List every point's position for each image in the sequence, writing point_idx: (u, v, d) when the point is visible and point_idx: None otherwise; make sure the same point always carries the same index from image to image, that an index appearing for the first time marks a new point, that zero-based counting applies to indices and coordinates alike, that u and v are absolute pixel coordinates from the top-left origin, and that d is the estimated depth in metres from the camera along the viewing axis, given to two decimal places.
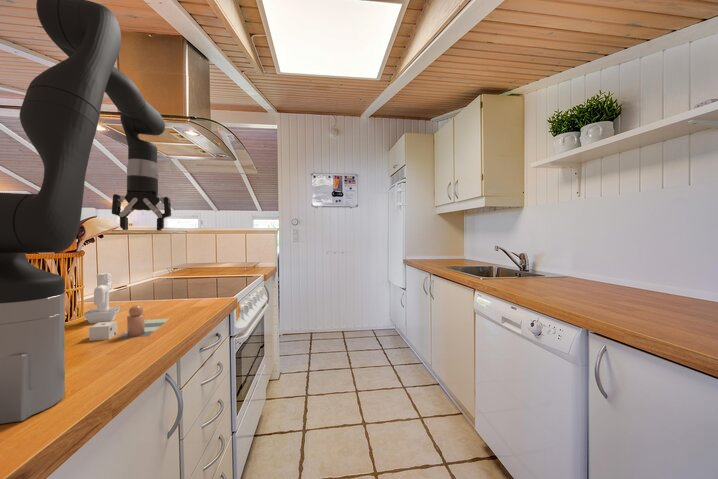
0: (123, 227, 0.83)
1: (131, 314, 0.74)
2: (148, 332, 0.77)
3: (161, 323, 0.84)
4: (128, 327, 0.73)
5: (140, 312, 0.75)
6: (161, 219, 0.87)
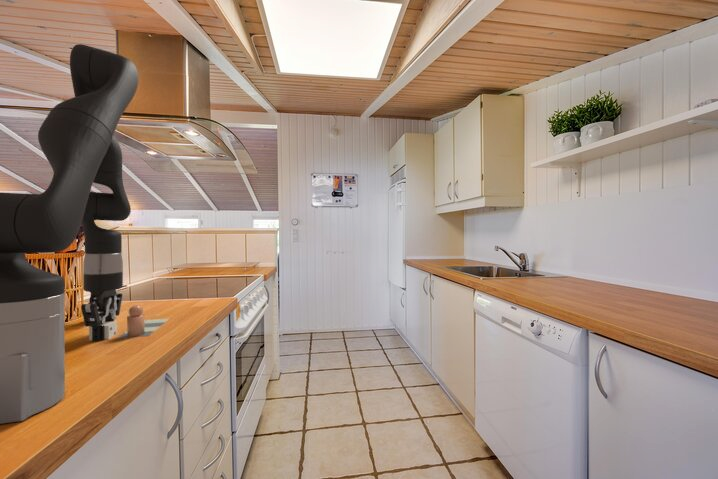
0: (103, 337, 0.71)
1: (131, 314, 0.74)
2: (148, 332, 0.77)
3: (161, 323, 0.84)
4: (128, 327, 0.73)
5: (140, 312, 0.75)
6: (113, 320, 0.76)
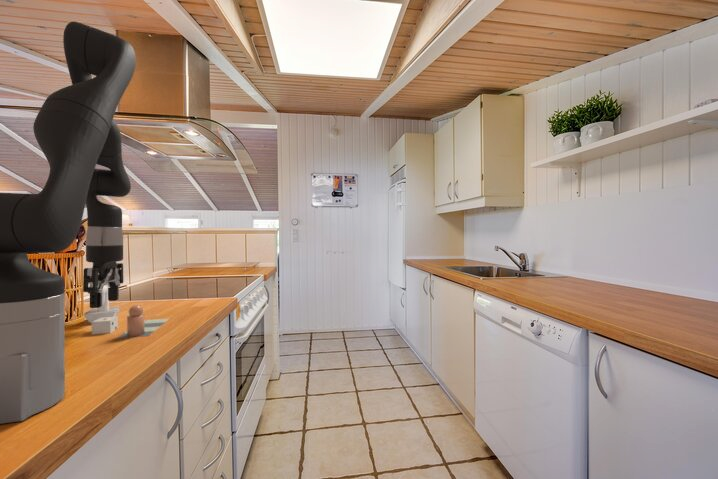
0: (100, 304, 0.73)
1: (131, 314, 0.74)
2: (148, 332, 0.77)
3: (161, 323, 0.84)
4: (128, 327, 0.73)
5: (140, 312, 0.75)
6: None
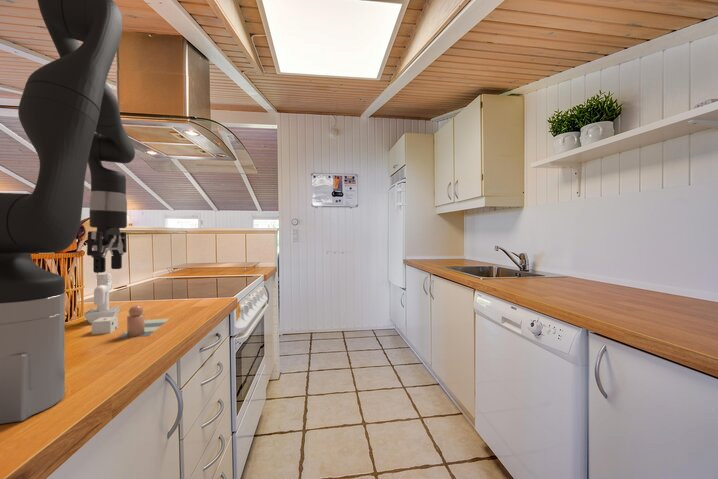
0: (104, 269, 0.72)
1: (131, 314, 0.74)
2: (148, 332, 0.77)
3: (161, 323, 0.84)
4: (128, 327, 0.73)
5: (140, 312, 0.75)
6: None
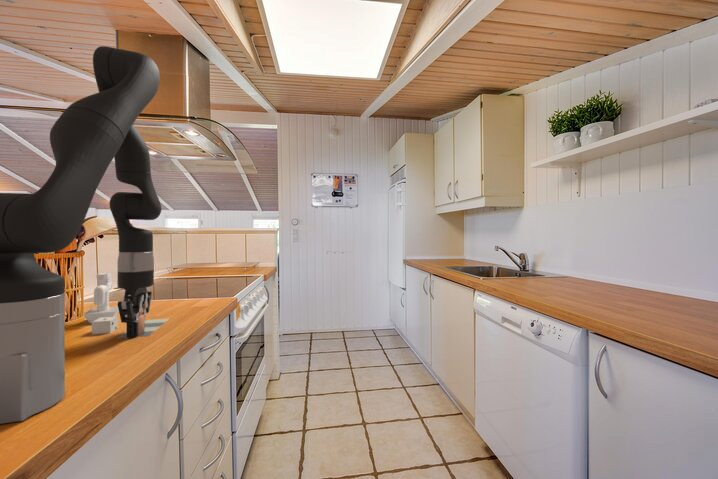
0: (137, 333, 0.73)
1: None
2: (148, 332, 0.77)
3: (161, 323, 0.84)
4: None
5: (140, 312, 0.75)
6: None
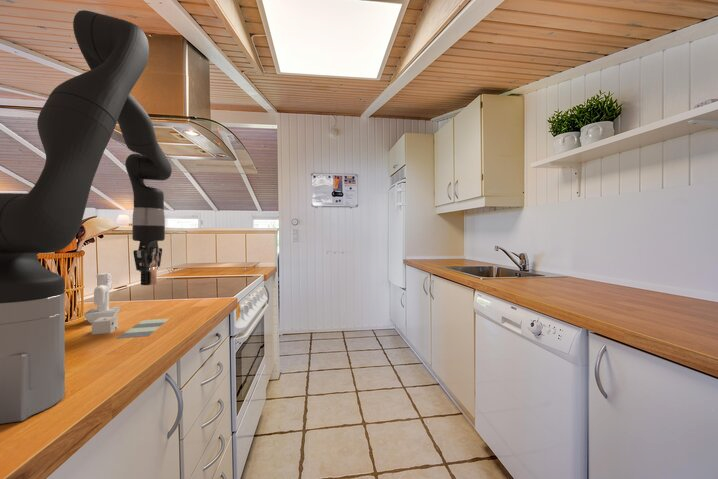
0: (150, 282, 0.81)
1: None
2: (148, 332, 0.77)
3: (161, 323, 0.84)
4: None
5: (153, 263, 0.82)
6: None
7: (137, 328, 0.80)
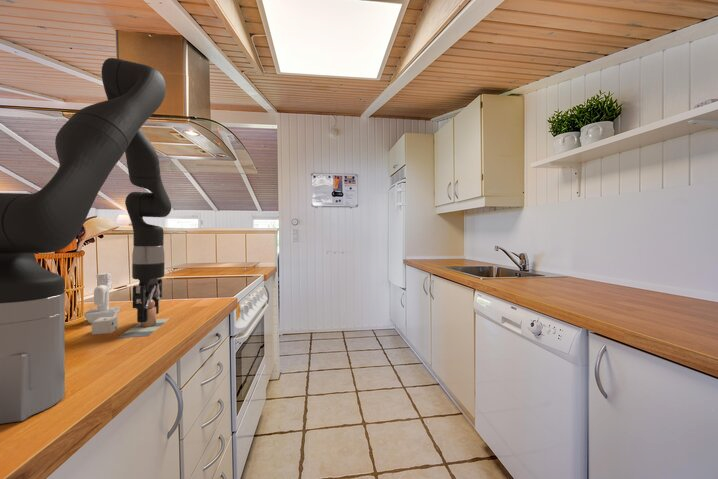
0: (147, 319, 0.79)
1: None
2: (148, 332, 0.77)
3: (161, 323, 0.84)
4: None
5: (152, 305, 0.82)
6: (157, 302, 0.87)
7: (137, 328, 0.80)
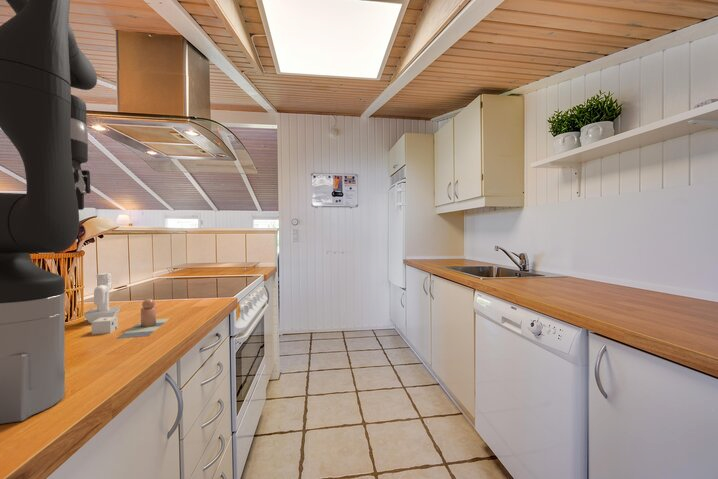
0: None
1: (144, 307, 0.81)
2: (148, 332, 0.77)
3: (161, 323, 0.84)
4: (142, 318, 0.81)
5: (152, 305, 0.82)
6: None
7: (137, 328, 0.80)
